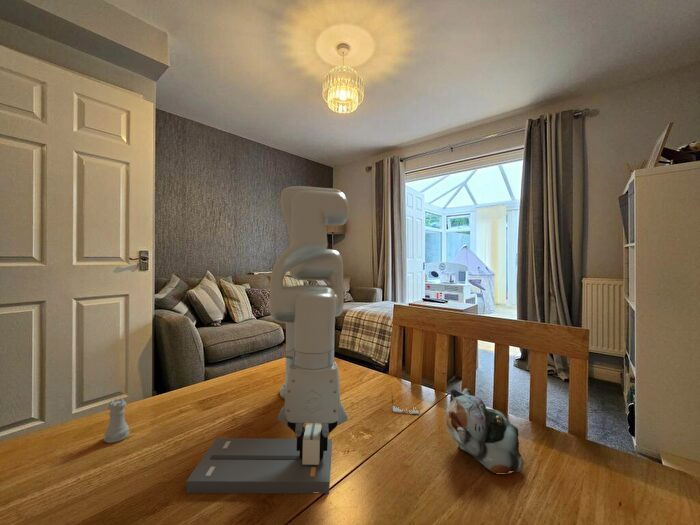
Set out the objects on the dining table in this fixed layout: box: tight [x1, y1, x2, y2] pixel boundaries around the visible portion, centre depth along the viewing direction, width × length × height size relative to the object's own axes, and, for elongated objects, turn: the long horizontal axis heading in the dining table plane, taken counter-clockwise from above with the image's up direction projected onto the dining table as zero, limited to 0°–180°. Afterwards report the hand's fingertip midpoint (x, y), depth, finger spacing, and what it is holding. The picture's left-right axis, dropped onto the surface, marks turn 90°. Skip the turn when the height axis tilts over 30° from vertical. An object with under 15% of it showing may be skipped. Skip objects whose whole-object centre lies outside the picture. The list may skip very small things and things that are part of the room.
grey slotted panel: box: [185, 437, 333, 494], centre depth 57 cm, size 24×12×2 cm, turn 91°
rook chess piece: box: [103, 398, 131, 444], centre depth 65 cm, size 4×4×8 cm
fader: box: [302, 423, 322, 465], centre depth 57 cm, size 3×5×5 cm, turn 1°
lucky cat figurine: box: [445, 388, 524, 474], centre depth 63 cm, size 15×12×14 cm
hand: (312, 452), depth 57 cm, fingers closed on fader, 3 cm apart
